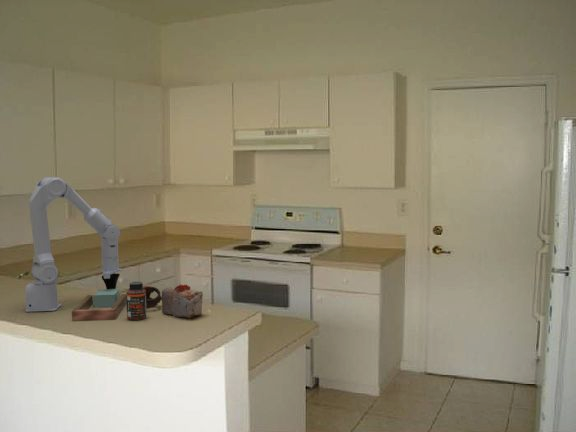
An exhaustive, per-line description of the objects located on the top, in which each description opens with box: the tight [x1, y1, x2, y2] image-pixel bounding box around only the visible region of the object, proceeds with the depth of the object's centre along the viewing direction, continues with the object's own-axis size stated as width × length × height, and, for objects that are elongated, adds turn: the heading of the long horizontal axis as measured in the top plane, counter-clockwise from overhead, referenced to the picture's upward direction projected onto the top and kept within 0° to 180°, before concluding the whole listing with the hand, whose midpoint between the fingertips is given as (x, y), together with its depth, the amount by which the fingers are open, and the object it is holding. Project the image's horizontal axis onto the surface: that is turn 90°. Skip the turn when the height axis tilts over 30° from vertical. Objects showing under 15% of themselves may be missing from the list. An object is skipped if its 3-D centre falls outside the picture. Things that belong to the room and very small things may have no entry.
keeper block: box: [93, 288, 121, 308], centre depth 200 cm, size 7×9×4 cm
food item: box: [161, 283, 204, 319], centre depth 185 cm, size 14×8×10 cm, turn 57°
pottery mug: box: [143, 285, 162, 309], centre depth 194 cm, size 12×10×8 cm
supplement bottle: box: [125, 281, 147, 321], centre depth 181 cm, size 6×6×11 cm
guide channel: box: [71, 293, 127, 322], centre depth 190 cm, size 13×22×3 cm, turn 6°
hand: (111, 294), depth 208 cm, fingers closed
